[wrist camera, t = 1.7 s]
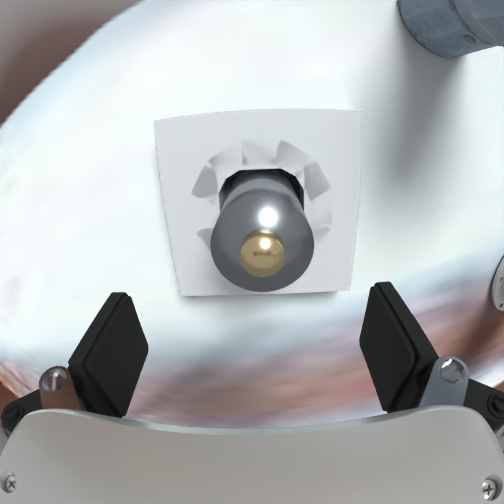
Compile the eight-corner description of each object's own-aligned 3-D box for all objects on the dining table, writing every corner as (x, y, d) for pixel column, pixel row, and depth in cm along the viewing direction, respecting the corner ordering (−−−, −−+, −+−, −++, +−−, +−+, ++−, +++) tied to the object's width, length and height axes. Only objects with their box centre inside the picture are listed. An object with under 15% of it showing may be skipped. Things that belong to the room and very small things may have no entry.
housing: (350, 111, 22) (361, 111, 19) (342, 274, 29) (349, 290, 26) (165, 120, 22) (153, 120, 20) (187, 279, 29) (181, 295, 27)
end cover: (294, 166, 24) (319, 202, 14) (295, 229, 27) (314, 301, 17) (225, 169, 24) (200, 207, 14) (231, 232, 27) (213, 304, 17)
